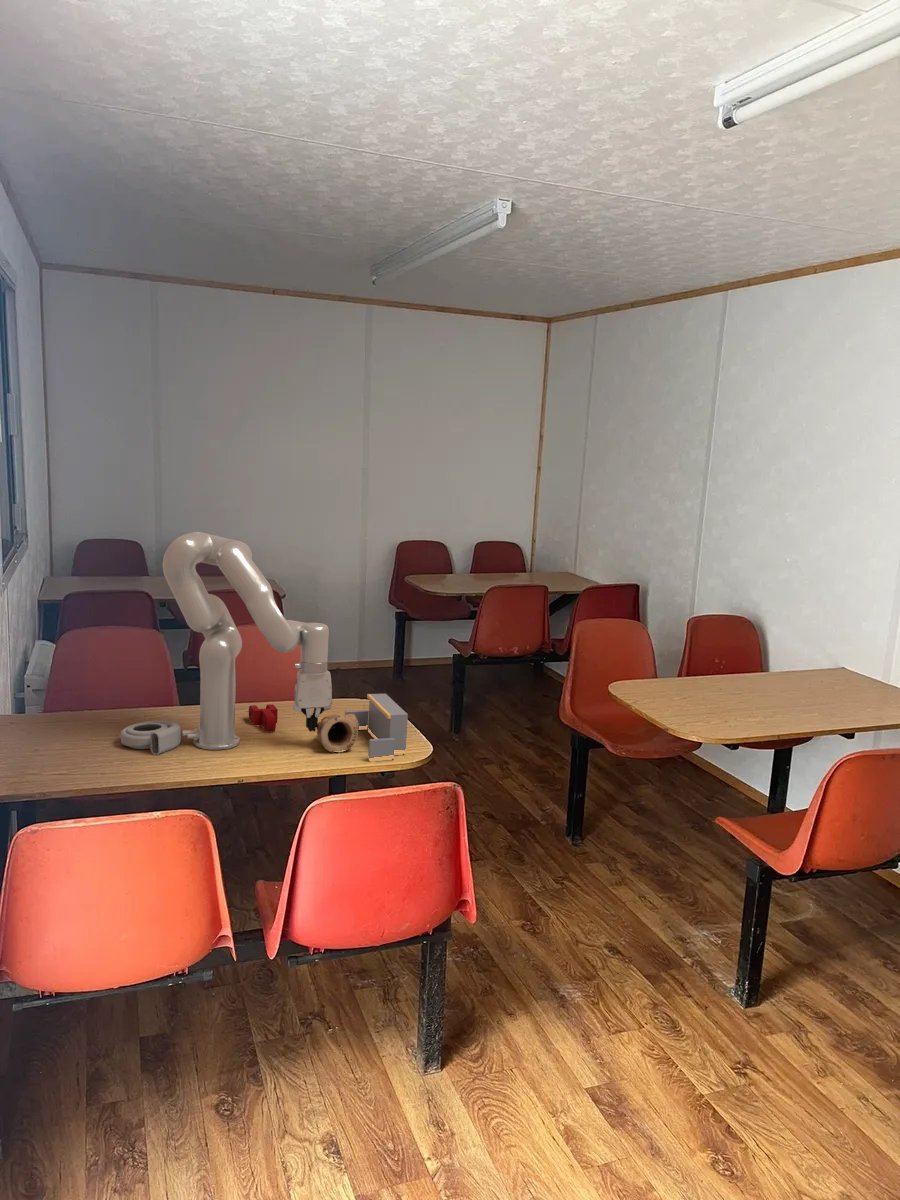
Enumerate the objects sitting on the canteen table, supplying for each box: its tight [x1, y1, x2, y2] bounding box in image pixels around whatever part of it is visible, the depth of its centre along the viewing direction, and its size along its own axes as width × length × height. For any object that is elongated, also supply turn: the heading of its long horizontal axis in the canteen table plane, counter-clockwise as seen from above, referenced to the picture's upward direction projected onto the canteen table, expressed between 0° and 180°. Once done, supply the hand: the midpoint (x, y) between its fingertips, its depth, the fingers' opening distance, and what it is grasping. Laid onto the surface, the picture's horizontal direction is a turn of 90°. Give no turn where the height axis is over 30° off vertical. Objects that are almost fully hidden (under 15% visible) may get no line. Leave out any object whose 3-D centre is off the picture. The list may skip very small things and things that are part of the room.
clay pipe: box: [316, 714, 359, 753], centre depth 251 cm, size 19×11×15 cm
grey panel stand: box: [344, 693, 409, 758], centre depth 253 cm, size 12×29×12 cm, turn 21°
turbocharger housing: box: [120, 719, 182, 756], centre depth 242 cm, size 17×6×15 cm
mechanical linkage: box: [248, 703, 279, 733], centre depth 265 cm, size 16×7×5 cm, turn 24°
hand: (311, 729), depth 247 cm, fingers closed
